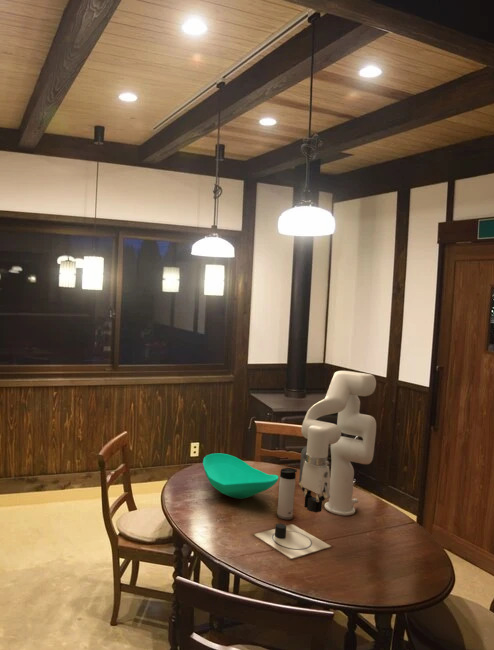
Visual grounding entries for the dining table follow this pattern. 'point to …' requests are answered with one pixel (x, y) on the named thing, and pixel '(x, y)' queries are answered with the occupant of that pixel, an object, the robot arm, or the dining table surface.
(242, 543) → the dining table surface
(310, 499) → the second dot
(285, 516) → the travel mug
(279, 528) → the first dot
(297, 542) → the drawing board
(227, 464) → the table top decor
